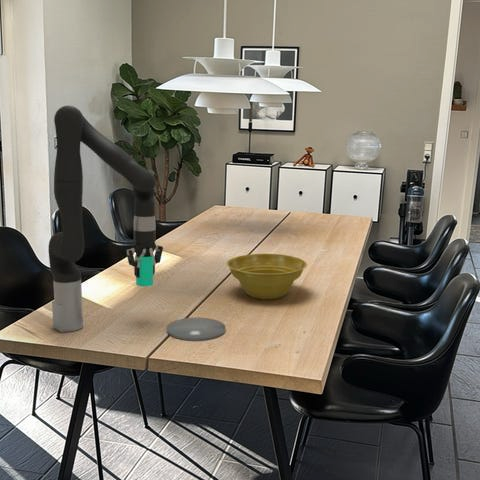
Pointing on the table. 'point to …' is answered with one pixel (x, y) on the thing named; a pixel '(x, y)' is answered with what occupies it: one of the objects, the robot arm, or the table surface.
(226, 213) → the table surface
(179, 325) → the candle tray
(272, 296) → the planter bowl
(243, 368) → the table surface
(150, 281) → the candle
